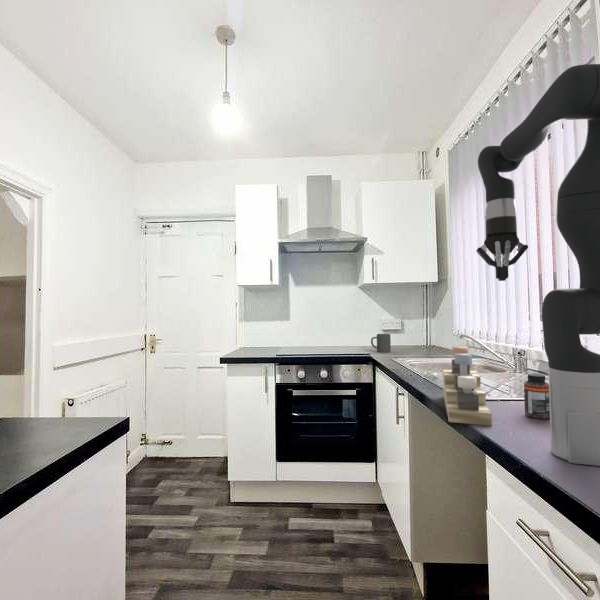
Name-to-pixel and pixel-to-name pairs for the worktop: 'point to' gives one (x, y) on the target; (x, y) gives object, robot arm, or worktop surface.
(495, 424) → the worktop surface
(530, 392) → the supplement bottle
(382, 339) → the mug
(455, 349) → the pink block
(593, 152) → the robot arm
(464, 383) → the white mushroom-shaped block
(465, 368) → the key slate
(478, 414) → the wooden block staircase
